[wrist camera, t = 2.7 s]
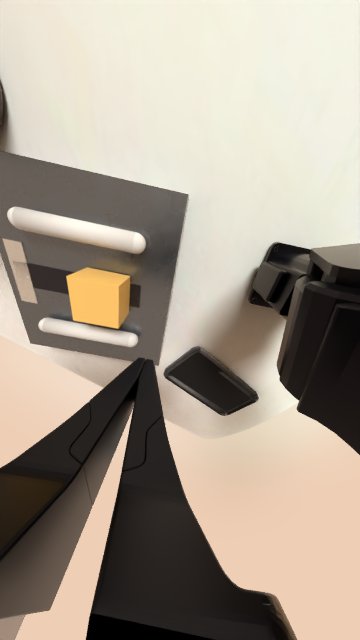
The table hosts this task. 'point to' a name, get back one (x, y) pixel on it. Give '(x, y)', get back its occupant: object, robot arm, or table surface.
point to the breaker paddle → (99, 297)
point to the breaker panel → (90, 250)
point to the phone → (210, 382)
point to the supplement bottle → (1, 105)
